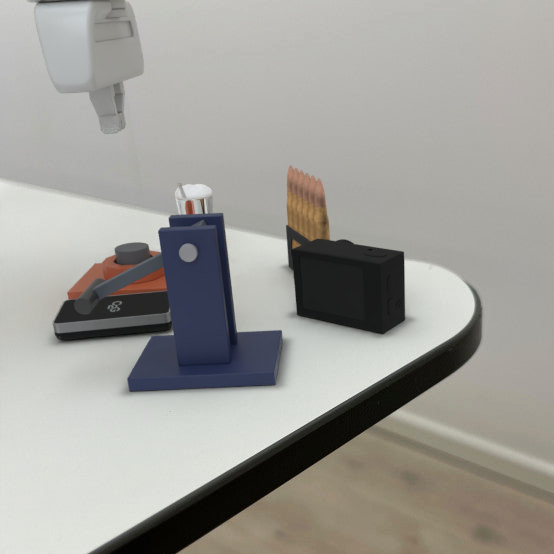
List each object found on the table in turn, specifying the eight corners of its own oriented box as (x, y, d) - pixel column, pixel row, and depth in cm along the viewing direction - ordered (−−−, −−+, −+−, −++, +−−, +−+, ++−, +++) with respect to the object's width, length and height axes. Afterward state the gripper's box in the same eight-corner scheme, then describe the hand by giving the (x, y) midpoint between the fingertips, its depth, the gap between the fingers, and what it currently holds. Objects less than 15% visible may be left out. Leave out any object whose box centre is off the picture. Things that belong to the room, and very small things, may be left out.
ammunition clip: (288, 266, 92) (280, 164, 87) (302, 263, 93) (295, 163, 88) (320, 292, 83) (313, 181, 78) (336, 289, 84) (330, 179, 79)
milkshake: (173, 263, 95) (161, 182, 90) (194, 251, 99) (184, 173, 95) (206, 265, 93) (196, 183, 89) (226, 253, 98) (217, 174, 94)
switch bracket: (129, 391, 63) (101, 239, 57) (153, 347, 71) (130, 211, 66) (275, 385, 63) (260, 232, 58) (282, 341, 71) (270, 204, 66)
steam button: (113, 268, 82) (110, 252, 81) (121, 258, 85) (119, 242, 84) (146, 266, 82) (144, 250, 81) (154, 256, 85) (151, 241, 84)
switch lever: (84, 322, 62) (66, 297, 61) (101, 301, 67) (85, 277, 66) (212, 257, 60) (196, 230, 59) (221, 239, 65) (206, 214, 64)
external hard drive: (68, 318, 79) (64, 299, 78) (177, 307, 80) (174, 289, 80) (55, 344, 73) (51, 324, 72) (174, 332, 74) (171, 313, 73)
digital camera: (413, 315, 76) (412, 247, 73) (383, 334, 72) (381, 262, 69) (328, 298, 81) (324, 234, 78) (296, 315, 77) (291, 247, 74)
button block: (71, 312, 80) (63, 275, 79) (98, 281, 90) (91, 248, 88) (185, 306, 81) (179, 270, 79) (200, 276, 90) (196, 243, 88)
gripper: (86, -16, 81) (111, 119, 87) (12, -22, 63) (49, 150, 69) (145, -19, 81) (166, 116, 87) (88, -26, 63) (119, 146, 69)
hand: (114, 131), depth 78 cm, fingers closed
